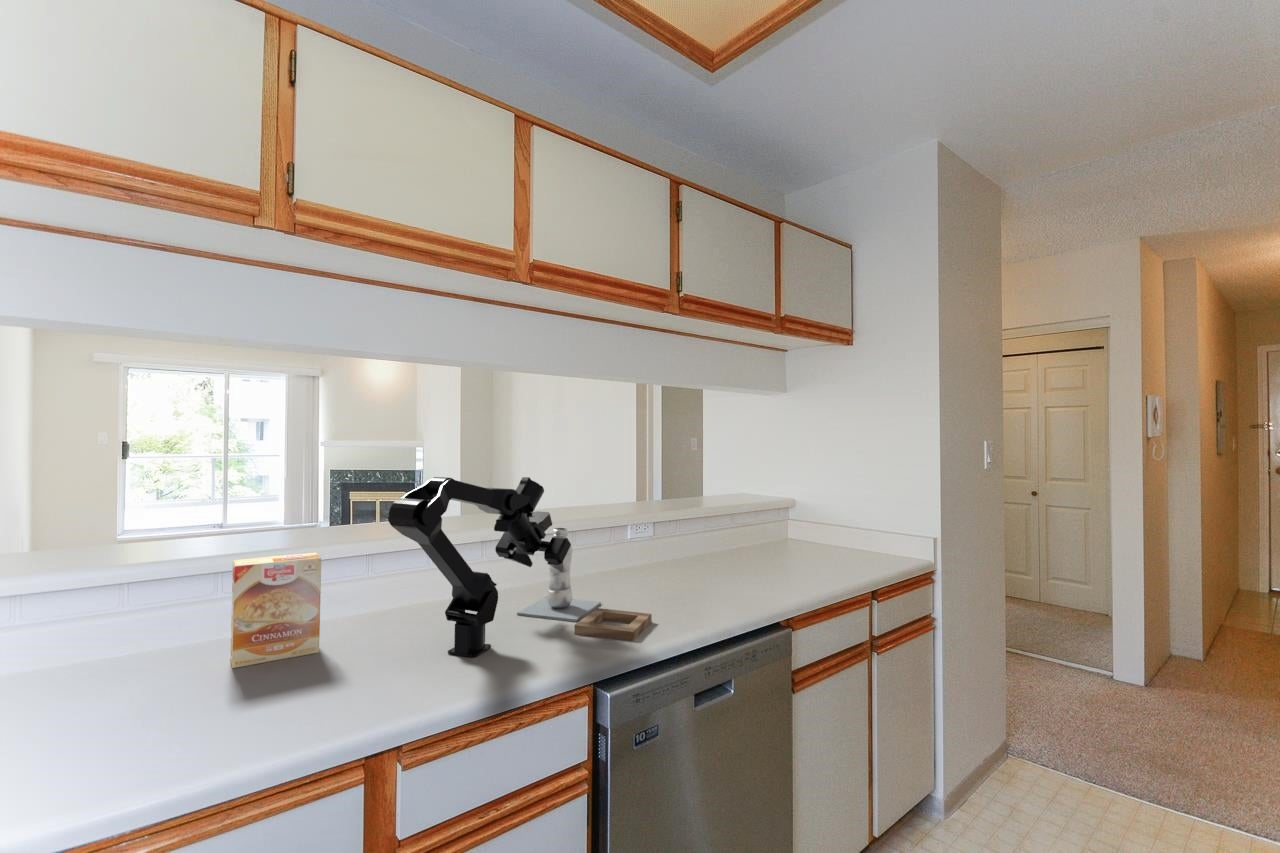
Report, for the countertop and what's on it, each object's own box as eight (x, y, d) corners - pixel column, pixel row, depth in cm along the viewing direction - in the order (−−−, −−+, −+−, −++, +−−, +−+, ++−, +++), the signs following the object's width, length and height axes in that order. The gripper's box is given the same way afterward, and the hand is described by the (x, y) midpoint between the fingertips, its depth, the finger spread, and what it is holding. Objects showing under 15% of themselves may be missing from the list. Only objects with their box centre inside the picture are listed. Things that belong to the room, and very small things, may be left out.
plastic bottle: (574, 604, 158) (575, 527, 158) (569, 611, 151) (569, 531, 151) (550, 603, 158) (550, 526, 159) (544, 610, 152) (544, 530, 152)
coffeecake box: (231, 669, 114) (233, 565, 114) (229, 657, 120) (231, 559, 120) (320, 653, 123) (322, 556, 123) (315, 643, 128) (316, 551, 129)
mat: (576, 621, 145) (576, 619, 145) (516, 615, 150) (516, 612, 150) (600, 604, 160) (600, 601, 160) (546, 598, 165) (546, 596, 165)
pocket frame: (633, 640, 132) (633, 631, 132) (574, 633, 136) (574, 624, 136) (651, 622, 145) (651, 613, 145) (597, 616, 150) (597, 608, 150)
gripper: (567, 503, 141) (591, 544, 150) (503, 499, 149) (530, 537, 159) (546, 542, 134) (573, 582, 143) (481, 535, 142) (510, 573, 152)
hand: (546, 567), depth 149 cm, fingers open, 9 cm apart
